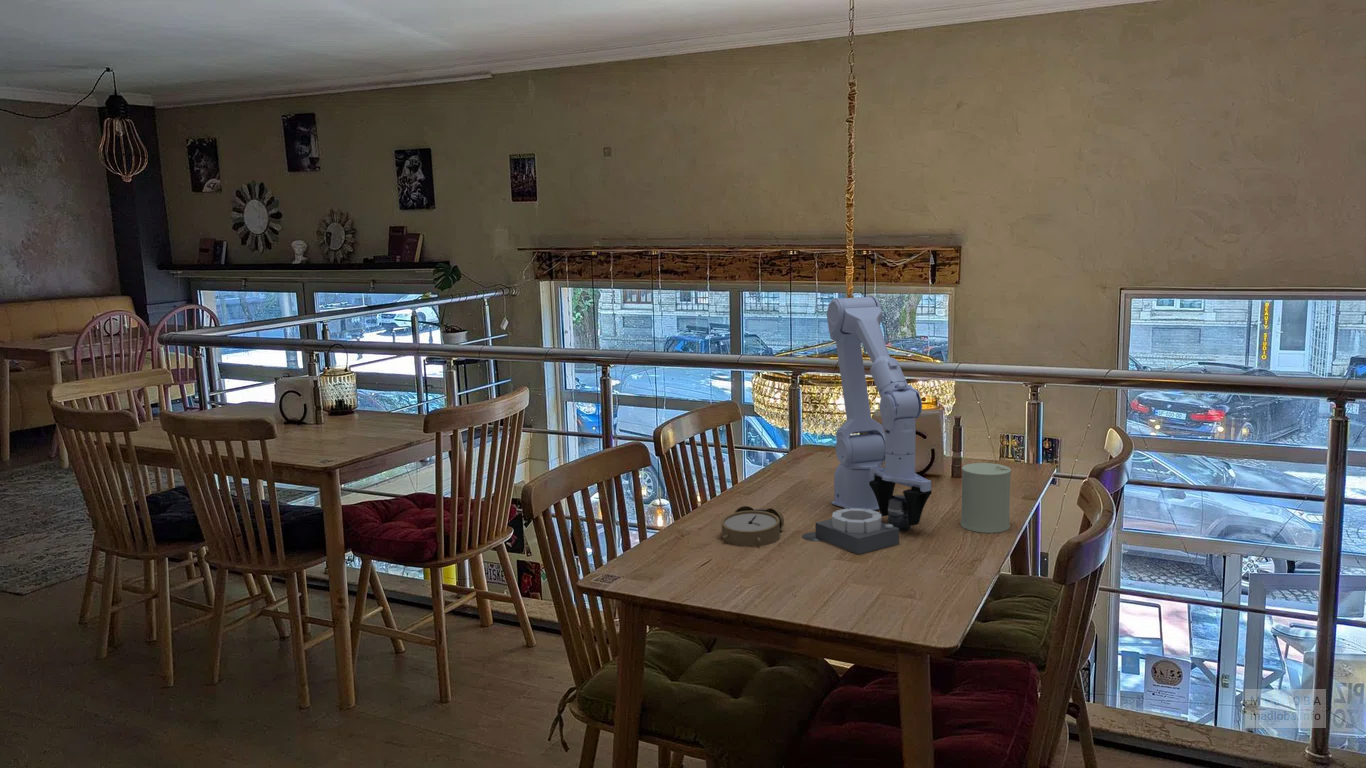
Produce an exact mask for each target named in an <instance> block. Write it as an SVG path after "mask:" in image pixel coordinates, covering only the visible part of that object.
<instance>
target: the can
mask: <svg viewBox="0 0 1366 768" xmlns="http://www.w3.org/2000/svg"><path fill="white" fill-rule="evenodd" d="M961 472H962V473H961V477H962V479H961V516H960V517H961V519H960V526H961V528H963V529H965V530H968V531H971V532H977V533H982V534H985V533H986V534H995V533H997V534H998V533H1003V532H1006V531H1009V529H1010V528H1011V525H1010V504H1011V503H1010V502H1011V501H1010V500H1011V498H1010V495H1011V474H1012V469H1011V467H1009V466H1006V465H1004V464H999V463H990V462H974V463H968V464H964V465H963V466H962V467H961Z"/></svg>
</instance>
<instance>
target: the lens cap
mask: <svg viewBox="0 0 1366 768" xmlns="http://www.w3.org/2000/svg"><path fill="white" fill-rule="evenodd" d="M801 538H802V539H803V540H805V541H809V542H823V541H822V540H820V539H817V538H816V531H812V532H811V531H810V532H805V533H803V534H802V535H801Z"/></svg>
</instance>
